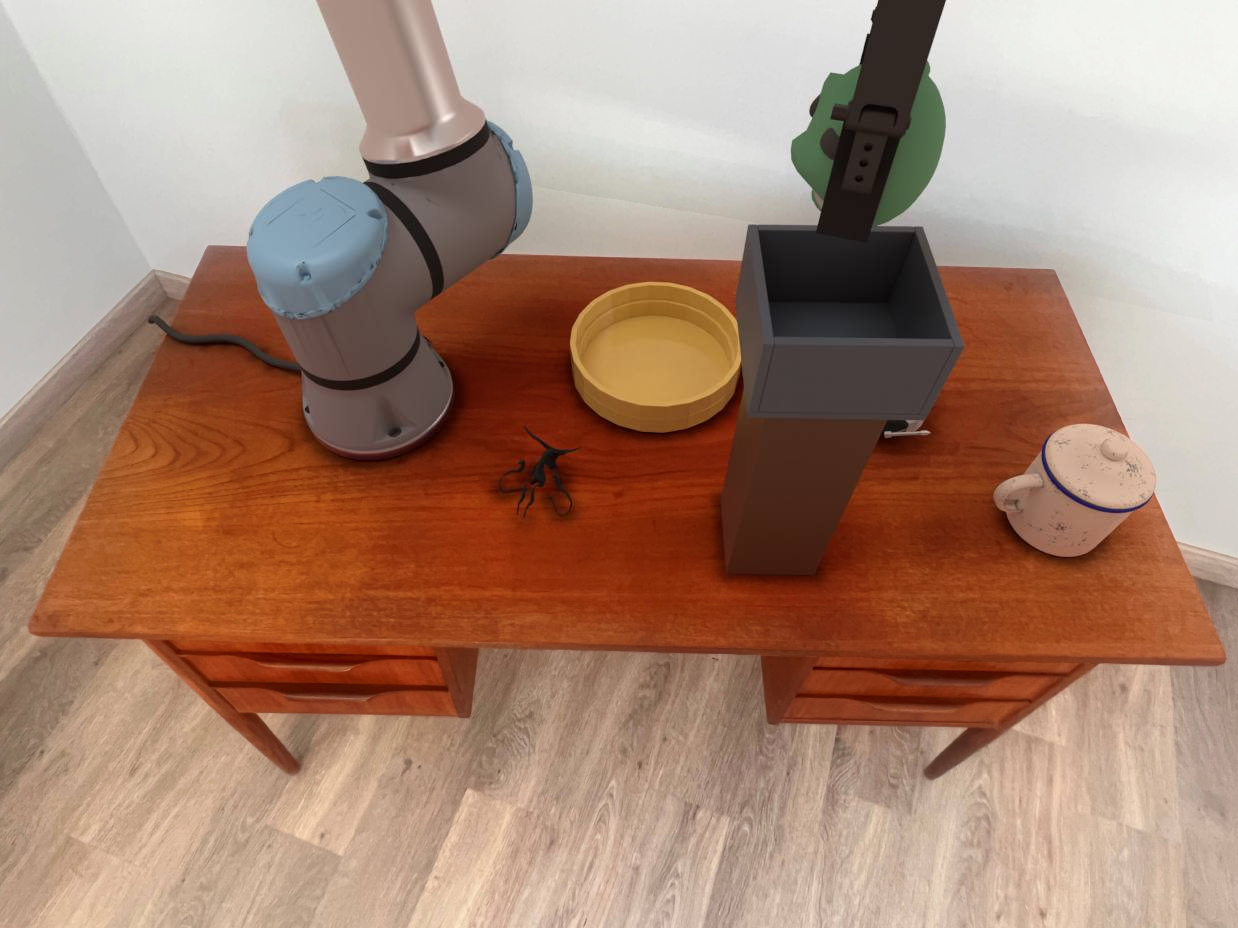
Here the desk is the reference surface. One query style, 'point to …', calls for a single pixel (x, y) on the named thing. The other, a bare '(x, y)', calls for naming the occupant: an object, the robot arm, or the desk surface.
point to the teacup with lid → (1077, 489)
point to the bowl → (655, 356)
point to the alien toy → (912, 155)
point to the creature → (541, 472)
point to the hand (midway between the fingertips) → (851, 192)
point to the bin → (825, 380)
